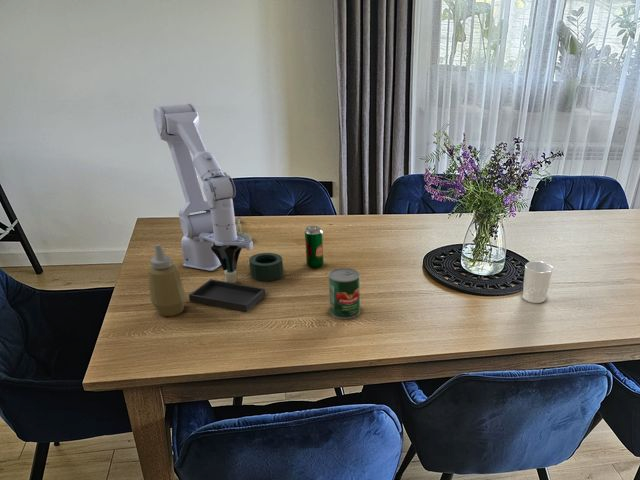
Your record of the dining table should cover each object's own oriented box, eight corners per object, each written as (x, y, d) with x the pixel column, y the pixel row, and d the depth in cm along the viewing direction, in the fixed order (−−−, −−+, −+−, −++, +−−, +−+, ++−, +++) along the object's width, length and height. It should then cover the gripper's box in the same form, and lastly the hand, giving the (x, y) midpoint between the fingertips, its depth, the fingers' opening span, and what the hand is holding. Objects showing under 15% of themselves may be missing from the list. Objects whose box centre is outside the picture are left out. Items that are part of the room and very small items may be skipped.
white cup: (529, 306, 174) (534, 274, 169) (515, 294, 180) (520, 263, 174) (552, 301, 177) (558, 270, 172) (537, 290, 183) (542, 259, 178)
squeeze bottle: (195, 307, 157) (183, 242, 148) (172, 321, 151) (159, 254, 141) (169, 301, 159) (156, 236, 150) (146, 314, 153) (131, 247, 143)
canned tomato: (346, 322, 158) (345, 284, 152) (323, 312, 161) (321, 274, 155) (366, 311, 164) (366, 273, 158) (343, 301, 167) (343, 265, 161)
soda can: (319, 270, 182) (317, 232, 176) (303, 267, 183) (301, 229, 177) (326, 263, 187) (324, 226, 180) (310, 261, 187) (308, 224, 181)
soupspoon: (229, 249, 191) (252, 248, 194) (229, 239, 190) (251, 239, 192) (229, 221, 208) (249, 221, 211) (228, 212, 207) (249, 212, 209)
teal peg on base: (223, 282, 168) (219, 258, 165) (229, 277, 171) (226, 254, 167) (233, 283, 168) (230, 260, 164) (239, 279, 171) (236, 256, 167)
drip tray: (190, 301, 160) (188, 294, 159) (211, 285, 168) (210, 279, 167) (247, 312, 158) (246, 305, 157) (265, 295, 166) (265, 288, 165)
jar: (245, 278, 174) (243, 262, 171) (260, 266, 181) (258, 250, 179) (274, 283, 173) (273, 267, 170) (288, 271, 180) (287, 255, 177)
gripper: (189, 223, 158) (197, 270, 165) (241, 231, 156) (246, 279, 163) (205, 214, 164) (211, 260, 171) (254, 222, 162) (259, 269, 169)
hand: (229, 269), depth 168 cm, fingers closed on teal peg on base
